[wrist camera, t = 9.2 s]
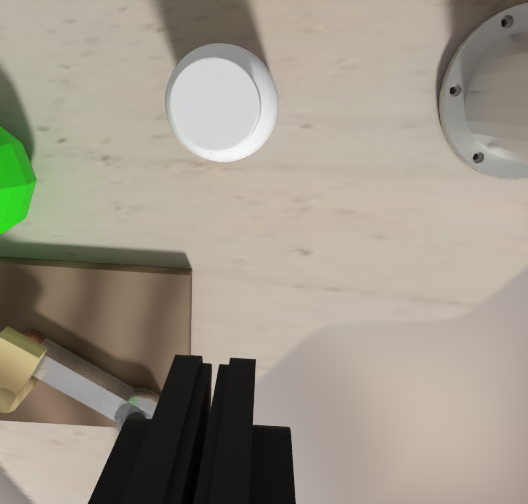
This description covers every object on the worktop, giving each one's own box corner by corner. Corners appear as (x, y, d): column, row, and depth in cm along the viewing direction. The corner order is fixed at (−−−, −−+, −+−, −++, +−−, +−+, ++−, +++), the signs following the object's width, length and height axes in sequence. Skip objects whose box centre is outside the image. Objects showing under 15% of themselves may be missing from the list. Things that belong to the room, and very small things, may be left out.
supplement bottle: (200, 45, 34) (163, 15, 22) (286, 70, 34) (295, 53, 22) (183, 134, 36) (139, 152, 24) (263, 156, 37) (261, 184, 24)
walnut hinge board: (192, 269, 40) (178, 300, 33) (189, 421, 45) (176, 472, 39) (-16, 255, 39) (-68, 284, 33) (5, 409, 44) (-37, 459, 38)
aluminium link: (172, 401, 42) (168, 416, 40) (150, 430, 43) (145, 446, 41) (28, 318, 39) (16, 329, 37) (8, 351, 40) (-5, 363, 38)
